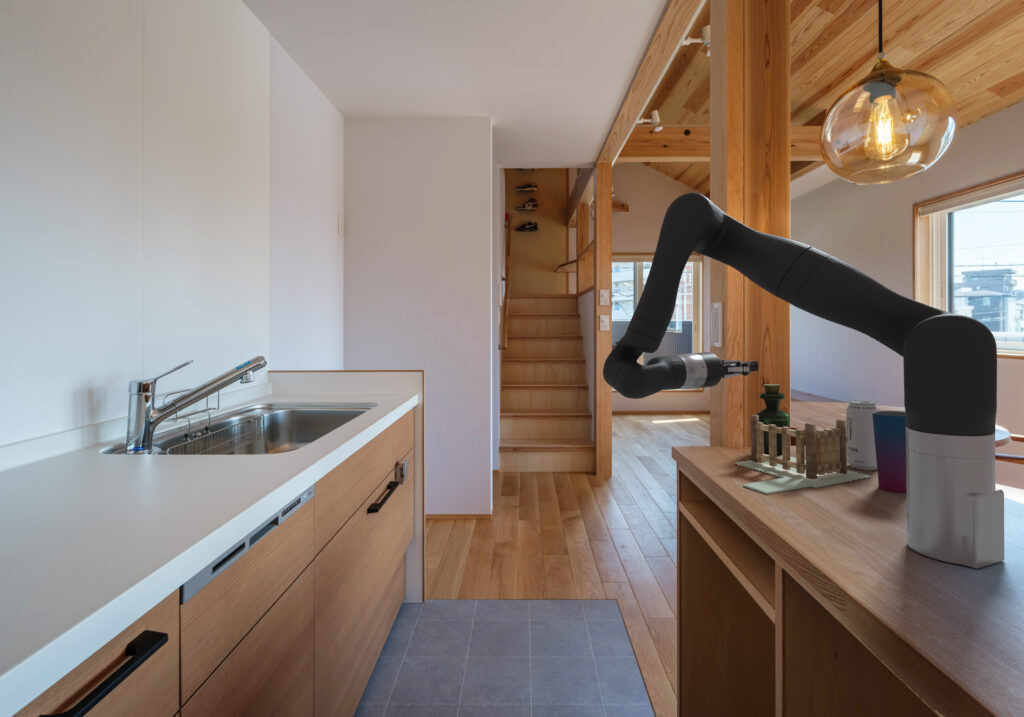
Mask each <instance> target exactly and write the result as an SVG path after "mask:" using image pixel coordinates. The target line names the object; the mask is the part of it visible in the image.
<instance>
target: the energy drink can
mask: <svg viewBox="0 0 1024 717" xmlns="http://www.w3.org/2000/svg"><path fill="white" fill-rule="evenodd" d="M845 411H846V415H845V417H846V418H845V419H846V443H847V463H848V464H849V466H851V468H852V467H853V469H855V468H856V470H861V469H862V471H863V470H864V471H875V470H877V461H876V450H875V439H874V427H873V416H872V412H873V411H880V410H879V408H878V407H877V405H876V402H875V401H873V400H850V401H849V404H848V406H847V407H846V410H845Z"/></svg>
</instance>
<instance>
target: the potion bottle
mask: <svg viewBox="0 0 1024 717" xmlns="http://www.w3.org/2000/svg"><path fill="white" fill-rule="evenodd" d="M763 387H764V391H765V392H761V393H760V395H759V398H760V399H762V400H763V401H764V404H765V408H763V409H761V410H760V411H758V412H757V413H756V414H755V415H759V422H762V423H763V424H764V425H770V424H773V425H776V427H781V428H782V427H790V428H791V426H790V424H791V416H790V415H789V414H788V413H787V412H786V411H784V410H782V409H780V405H781V404H780V403H781V401H782V400H783V399H786V397H785V395H784V393H782V392H780V387H781V384H778V383H766V384H765V383H764V384H763ZM776 438H777V455H778V456H781V455H782V434H779V433H776ZM764 454H767V455H769V432H768V431H764Z"/></svg>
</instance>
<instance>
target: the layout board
mask: <svg viewBox="0 0 1024 717" xmlns="http://www.w3.org/2000/svg"><path fill="white" fill-rule="evenodd" d="M777 457H779V458H782V456H777ZM790 460H791V461H795V462H796V456H795V457H794V456H791V455H790ZM735 463H736V464H739V465H742V466H741V467H743V466H745V467H744V468H746V467H748V468H747V469H750V468H751V469H750V470H753V469H755V470H754V471H756V470H758V471H757V472H760V471H761V472H760V473H763V472H764V473H763V474H766V473H767V475H770V476H773V477H777V478H773V479H767V480H760V481H755V482H748V483H743V484H742V487H743V488H747V489H749V490H752V491H754V492H758V493H761V494H764V495H772V494H773V495H774V494H777V493H784V492H788V491H794V490H799V489H804V488H810V487H811V488H813V489H814V488H815V489H817V488H822V487H828V486H832V485H838V484H843V483H847V482H848V481H849V482H853V481H852V480H855V481H859V480H858V479H860V480H865V479H864V478H866V479H870V478H871V475H869V474H865V473H861V472H856V471H853V470H849V469H847V474H842V473H838V472H837V473H836V472H833V473H831V474H827V473H825V475H818V474H817V479H808V478H806V470H805V474H799V473H797V469H796V468H792V467H791V470H785V469H783V466H782V465H781V464H777V466H775V467H773V466H770V465H769V461H765V460H764V463H758V462H753V461H751V459H750V460H745V461H744V460H743V461H737V462H736V461H735ZM736 464H735V465H736ZM805 464H806V459H805ZM739 465H738V466H739ZM869 477H870V478H869ZM849 482H848V483H849Z"/></svg>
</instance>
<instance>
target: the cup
mask: <svg viewBox="0 0 1024 717" xmlns="http://www.w3.org/2000/svg"><path fill="white" fill-rule="evenodd" d="M872 416H873V427H874V439H875V450H876V461H877V469H876V470H877V479H878V488H879V489H881V490H882V489H883V491H885V490H886V492H890V493H899V494H906V416H905V410H904V411H903V410H879V411H873V412H872Z"/></svg>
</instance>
